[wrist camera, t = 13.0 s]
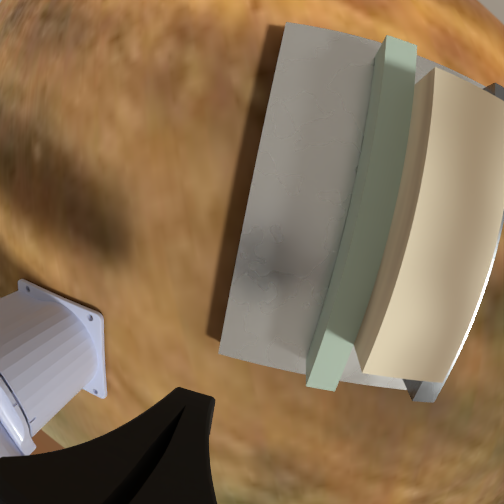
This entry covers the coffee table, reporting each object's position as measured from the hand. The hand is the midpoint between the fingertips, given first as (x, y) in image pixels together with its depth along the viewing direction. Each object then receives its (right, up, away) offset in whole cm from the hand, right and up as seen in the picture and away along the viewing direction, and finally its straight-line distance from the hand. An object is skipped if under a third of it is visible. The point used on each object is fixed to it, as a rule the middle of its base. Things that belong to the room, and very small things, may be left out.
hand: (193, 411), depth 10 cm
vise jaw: (+7, +7, +5) cm, 12 cm away
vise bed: (+8, +7, +6) cm, 13 cm away
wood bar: (+10, +7, +5) cm, 13 cm away
